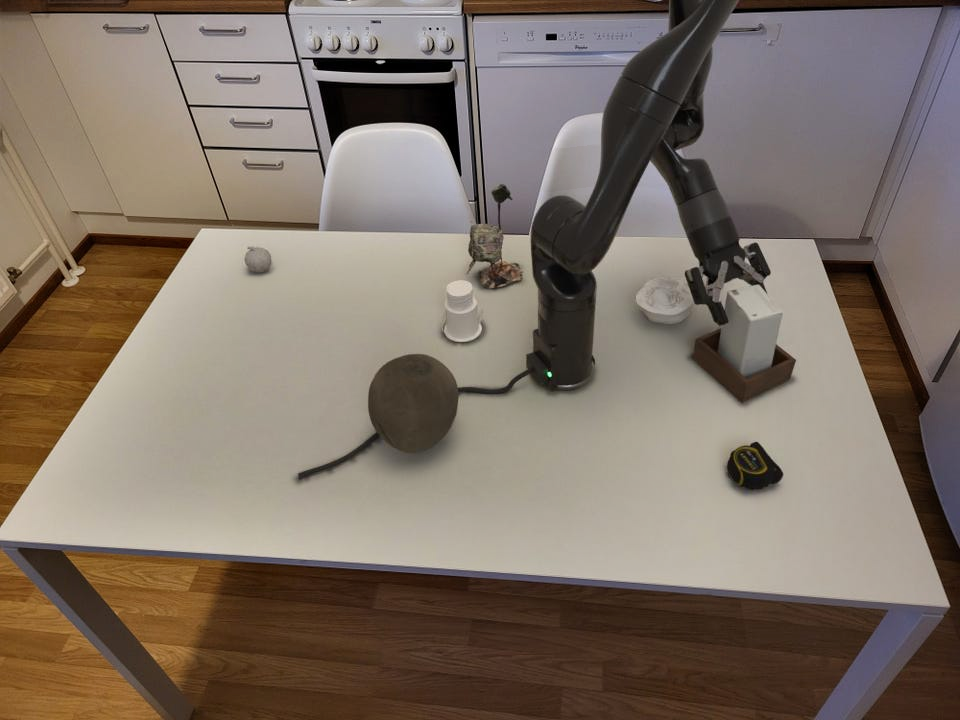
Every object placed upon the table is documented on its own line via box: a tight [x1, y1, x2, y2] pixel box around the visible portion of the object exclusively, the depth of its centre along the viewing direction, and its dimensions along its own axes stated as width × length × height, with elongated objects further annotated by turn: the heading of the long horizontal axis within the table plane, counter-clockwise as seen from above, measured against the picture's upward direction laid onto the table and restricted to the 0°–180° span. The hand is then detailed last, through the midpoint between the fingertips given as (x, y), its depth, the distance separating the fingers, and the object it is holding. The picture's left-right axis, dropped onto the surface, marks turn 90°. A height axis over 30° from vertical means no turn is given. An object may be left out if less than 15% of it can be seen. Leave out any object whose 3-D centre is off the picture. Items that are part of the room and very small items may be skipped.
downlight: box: [440, 279, 484, 343], centre depth 140 cm, size 8×7×10 cm
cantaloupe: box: [367, 353, 459, 454], centre depth 120 cm, size 14×14×15 cm
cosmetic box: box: [716, 285, 784, 379], centre depth 127 cm, size 8×6×15 cm
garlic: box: [244, 246, 272, 273], centre depth 159 cm, size 6×5×5 cm
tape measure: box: [726, 441, 784, 491], centre depth 114 cm, size 7×7×4 cm
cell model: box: [635, 276, 696, 325], centre depth 141 cm, size 10×12×7 cm
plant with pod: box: [465, 182, 524, 289], centre depth 148 cm, size 8×11×20 cm
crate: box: [691, 327, 797, 404], centre depth 131 cm, size 11×13×4 cm
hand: (744, 315), depth 126 cm, fingers open, 8 cm apart
